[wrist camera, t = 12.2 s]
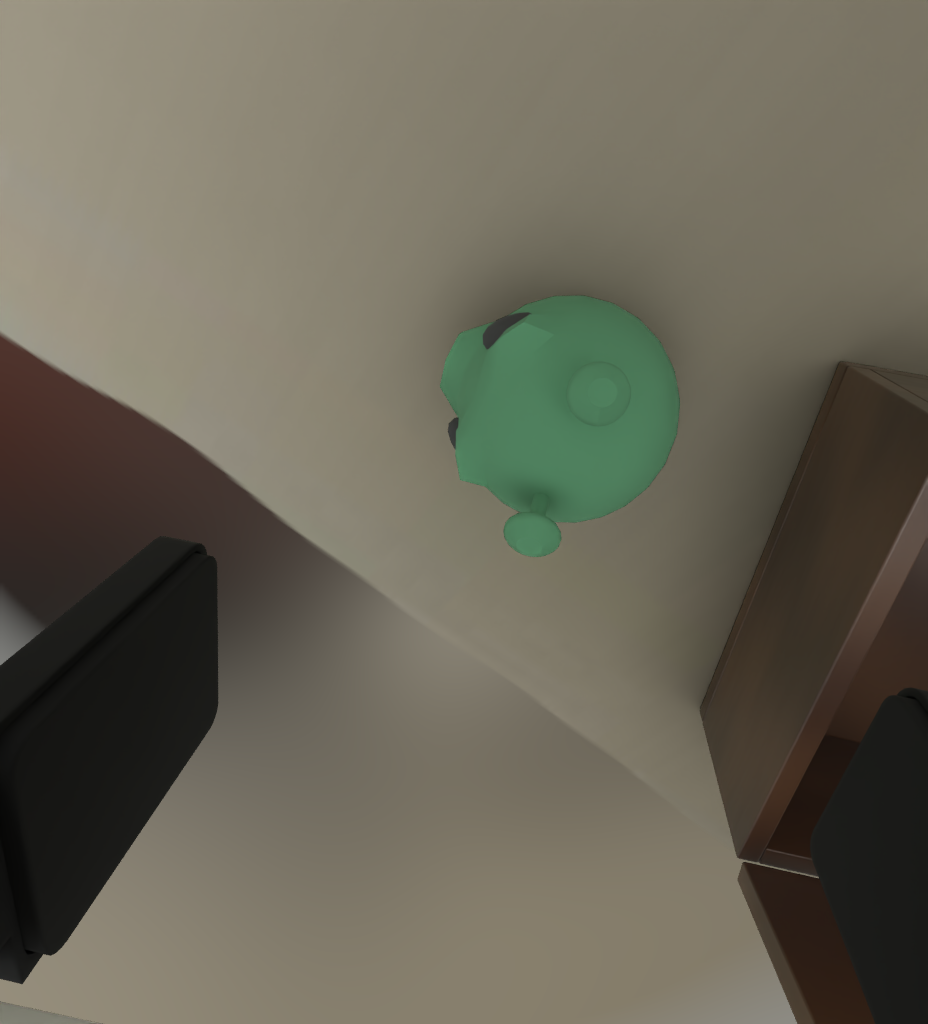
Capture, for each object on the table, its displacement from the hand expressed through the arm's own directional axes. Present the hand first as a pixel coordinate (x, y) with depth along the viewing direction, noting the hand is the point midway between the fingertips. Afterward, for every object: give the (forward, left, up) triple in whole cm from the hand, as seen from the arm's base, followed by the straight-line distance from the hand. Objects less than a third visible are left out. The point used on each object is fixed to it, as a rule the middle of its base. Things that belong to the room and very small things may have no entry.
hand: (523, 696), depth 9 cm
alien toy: (0, 0, -18) cm, 18 cm away
